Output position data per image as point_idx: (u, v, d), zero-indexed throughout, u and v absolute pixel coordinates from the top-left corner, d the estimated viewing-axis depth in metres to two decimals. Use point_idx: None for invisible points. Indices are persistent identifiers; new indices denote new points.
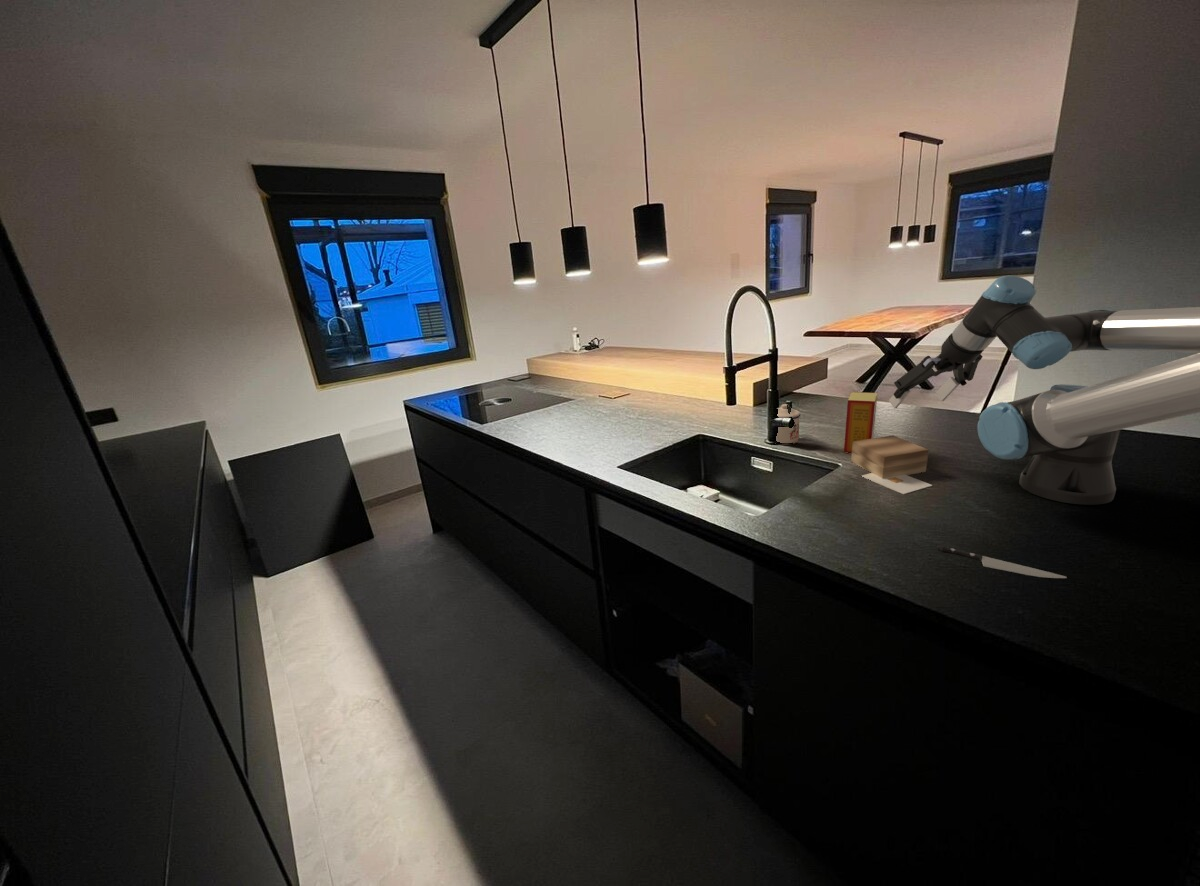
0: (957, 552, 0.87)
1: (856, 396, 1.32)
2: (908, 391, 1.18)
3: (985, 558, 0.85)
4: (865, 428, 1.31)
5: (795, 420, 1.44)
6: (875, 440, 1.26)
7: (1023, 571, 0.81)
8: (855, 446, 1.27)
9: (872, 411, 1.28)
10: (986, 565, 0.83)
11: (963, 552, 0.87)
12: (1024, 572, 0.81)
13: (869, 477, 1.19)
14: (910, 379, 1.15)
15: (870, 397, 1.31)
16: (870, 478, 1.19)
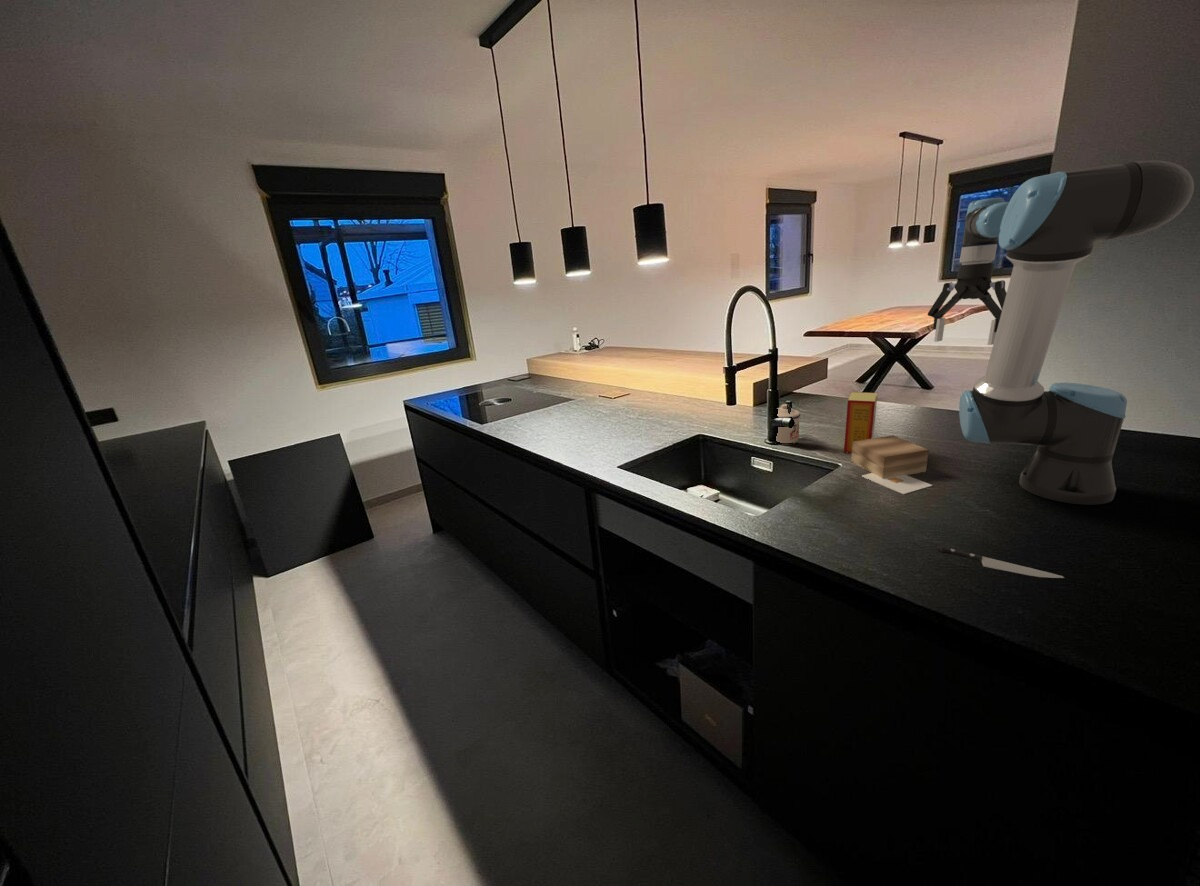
0: (957, 553, 0.87)
1: (856, 396, 1.32)
2: (938, 318, 1.37)
3: (985, 559, 0.85)
4: (865, 428, 1.31)
5: (795, 420, 1.44)
6: (875, 440, 1.26)
7: (1023, 571, 0.81)
8: (855, 446, 1.27)
9: (872, 411, 1.28)
10: (986, 565, 0.83)
11: (963, 553, 0.86)
12: (1024, 572, 0.80)
13: (869, 477, 1.19)
14: None
15: (870, 397, 1.31)
16: (870, 478, 1.19)
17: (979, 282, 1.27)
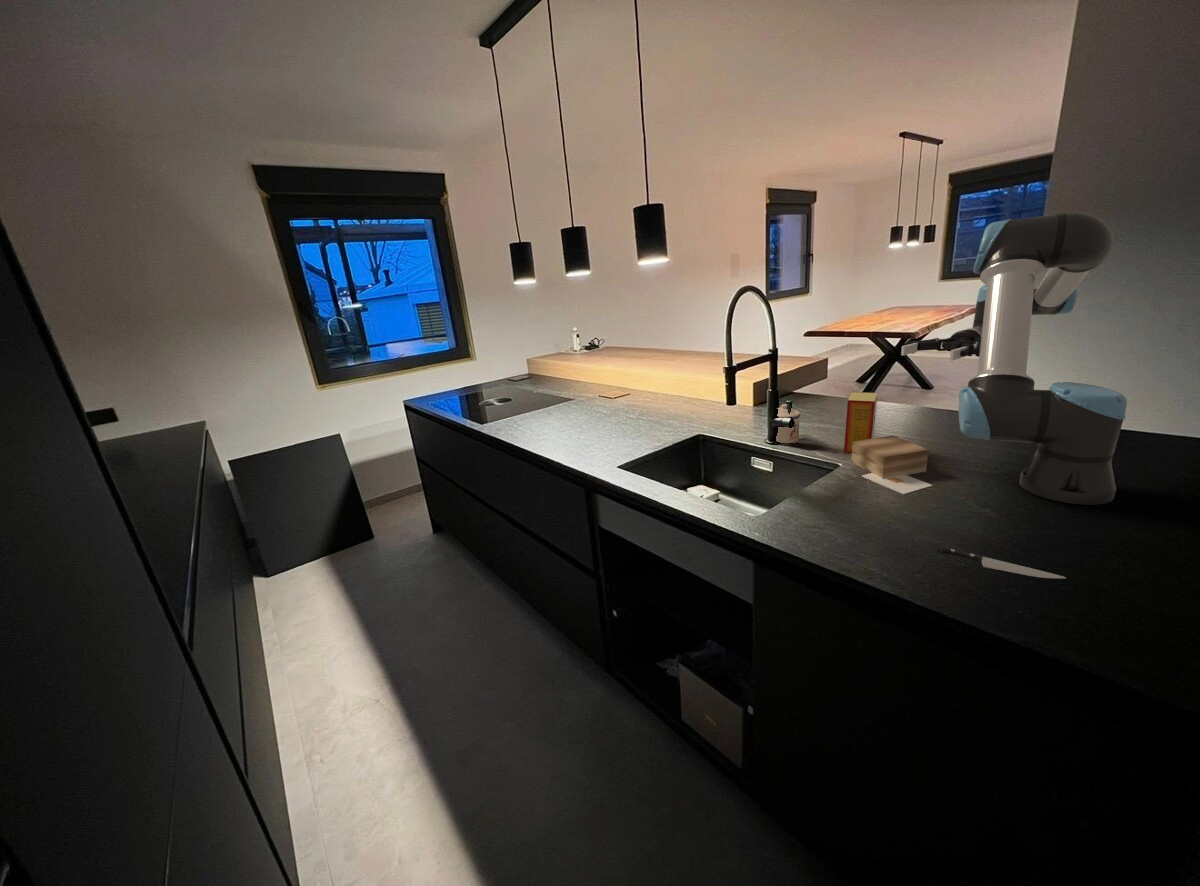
0: (957, 553, 0.87)
1: (856, 396, 1.32)
2: (916, 343, 1.45)
3: (985, 559, 0.85)
4: (865, 428, 1.31)
5: (795, 420, 1.44)
6: (875, 440, 1.26)
7: (1023, 572, 0.81)
8: (855, 446, 1.27)
9: (872, 411, 1.28)
10: (986, 566, 0.83)
11: (963, 553, 0.86)
12: (1024, 573, 0.80)
13: (869, 477, 1.19)
14: None
15: (870, 397, 1.31)
16: (870, 478, 1.19)
17: (966, 340, 1.41)
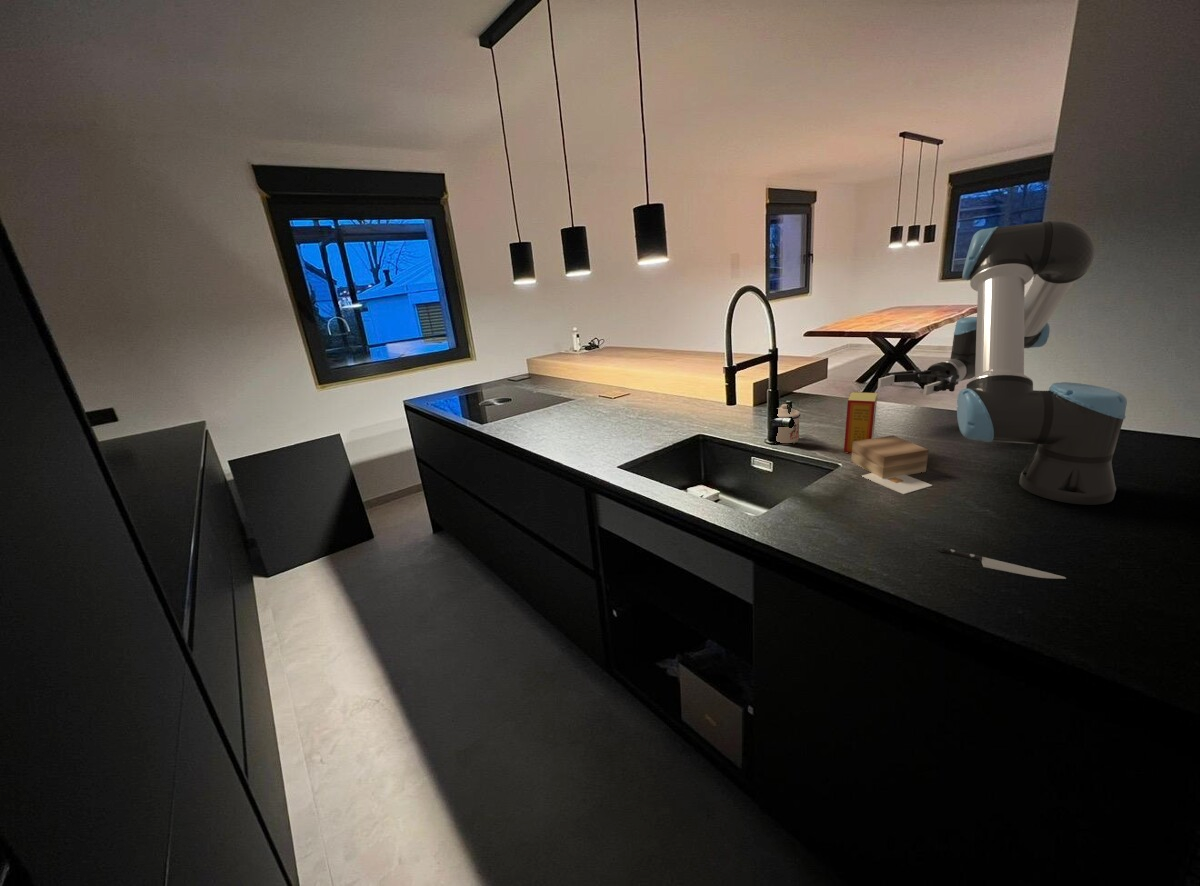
0: (957, 553, 0.87)
1: (856, 396, 1.32)
2: (893, 375, 1.47)
3: (985, 559, 0.84)
4: (865, 428, 1.31)
5: (795, 420, 1.44)
6: (875, 440, 1.26)
7: (1023, 572, 0.81)
8: (855, 446, 1.27)
9: (872, 411, 1.28)
10: (986, 566, 0.83)
11: (963, 553, 0.86)
12: (1024, 573, 0.80)
13: (869, 477, 1.19)
14: None
15: (870, 397, 1.31)
16: (870, 478, 1.19)
17: (942, 373, 1.43)
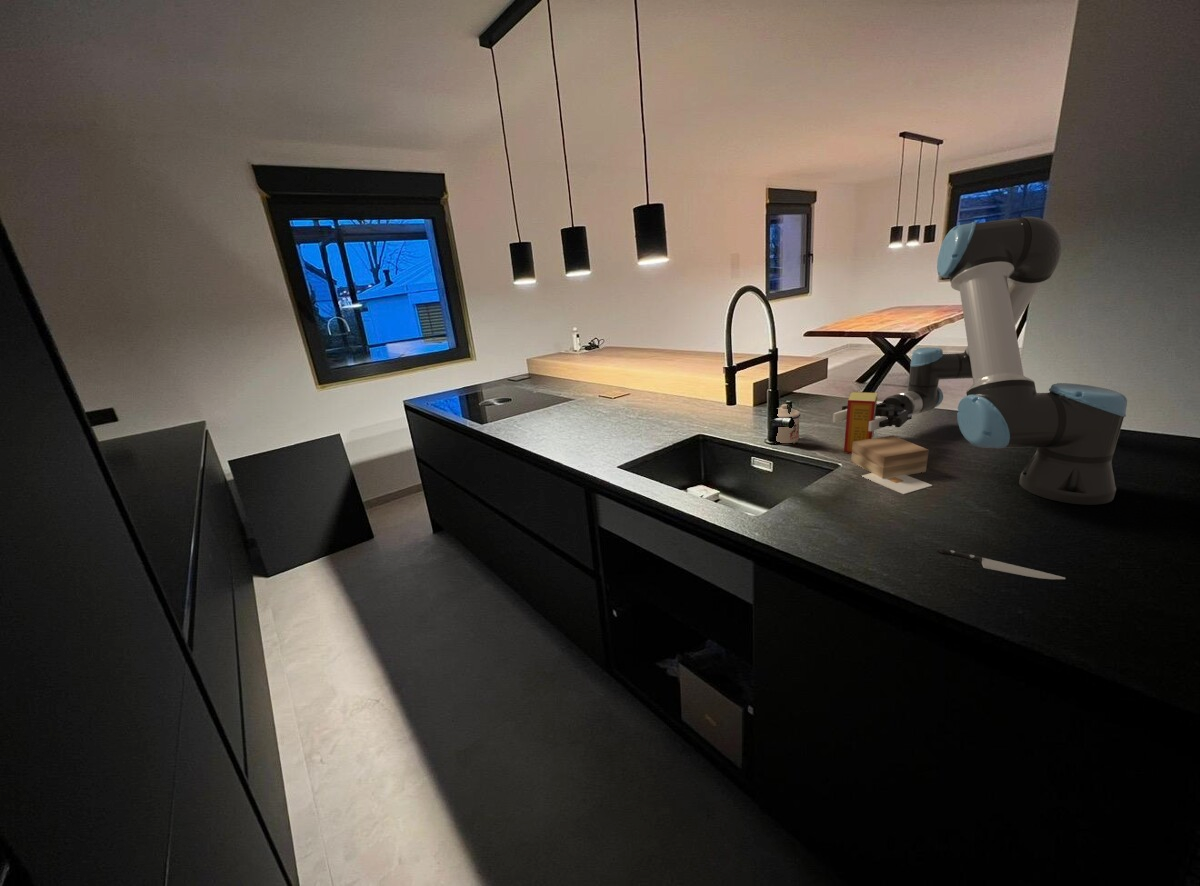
0: (957, 554, 0.87)
1: (856, 396, 1.32)
2: None
3: (985, 560, 0.84)
4: (866, 428, 1.31)
5: (795, 420, 1.44)
6: (875, 440, 1.26)
7: (1023, 572, 0.80)
8: (855, 446, 1.27)
9: (872, 411, 1.28)
10: (986, 567, 0.83)
11: (963, 554, 0.86)
12: (1024, 573, 0.80)
13: (869, 477, 1.19)
14: None
15: (870, 397, 1.31)
16: (870, 478, 1.19)
17: (898, 407, 1.38)
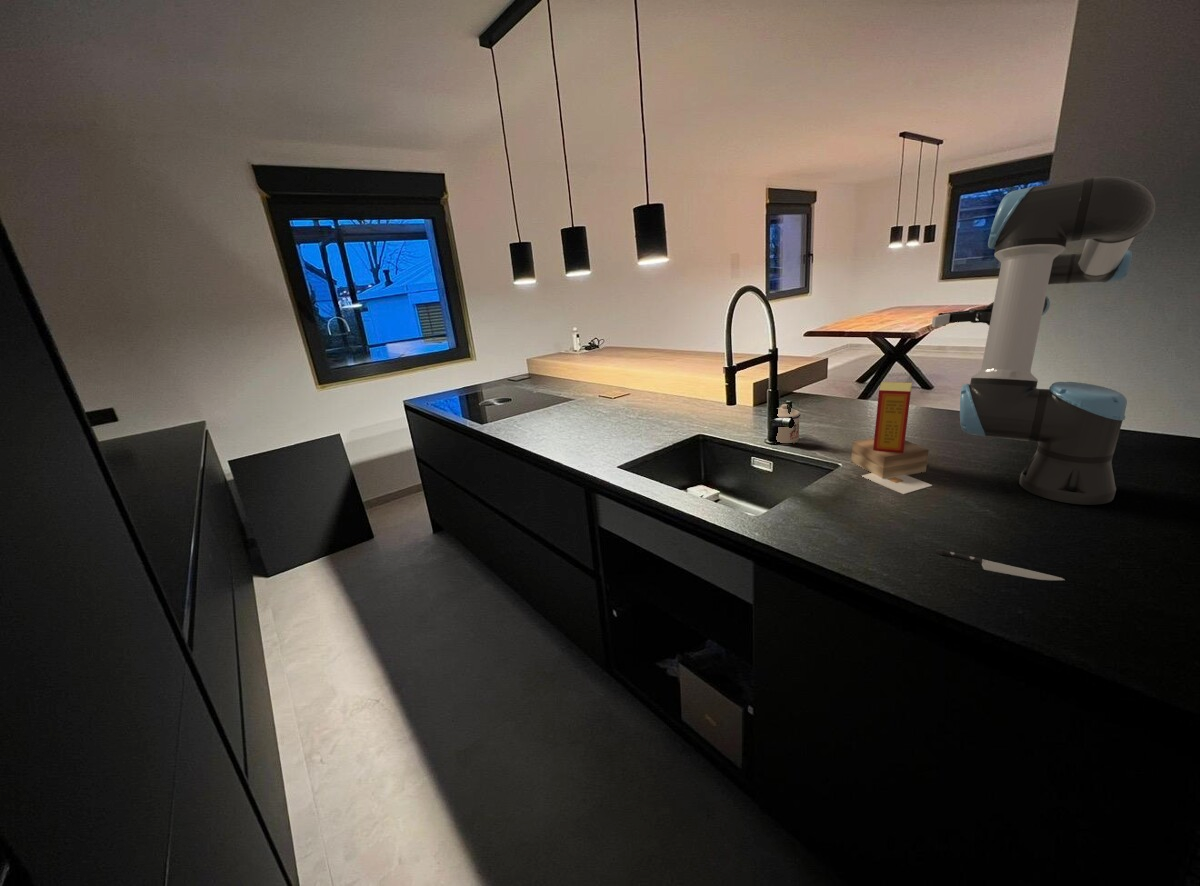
0: (957, 556, 0.86)
1: (888, 386, 1.17)
2: (948, 314, 1.30)
3: (985, 561, 0.84)
4: (899, 422, 1.15)
5: (795, 420, 1.44)
6: None
7: (1024, 574, 0.80)
8: (855, 446, 1.27)
9: (907, 403, 1.13)
10: (986, 568, 0.82)
11: (963, 556, 0.86)
12: (1025, 575, 0.80)
13: (869, 477, 1.19)
14: None
15: (904, 387, 1.15)
16: (870, 478, 1.19)
17: None
